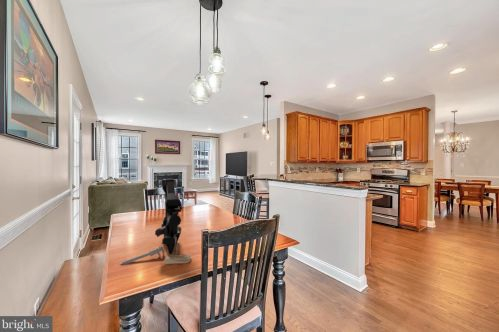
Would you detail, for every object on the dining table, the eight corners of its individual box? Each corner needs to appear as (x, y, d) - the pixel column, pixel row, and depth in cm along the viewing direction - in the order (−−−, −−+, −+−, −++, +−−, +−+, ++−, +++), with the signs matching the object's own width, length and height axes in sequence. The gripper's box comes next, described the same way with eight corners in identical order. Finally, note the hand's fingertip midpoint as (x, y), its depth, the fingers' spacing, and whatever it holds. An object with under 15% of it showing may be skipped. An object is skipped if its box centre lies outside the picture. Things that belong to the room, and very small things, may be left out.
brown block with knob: (169, 254, 114) (169, 243, 114) (177, 253, 115) (177, 242, 115) (167, 258, 110) (167, 246, 109) (176, 257, 110) (176, 245, 110)
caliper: (164, 255, 113) (164, 244, 112) (164, 256, 112) (164, 244, 112) (119, 264, 102) (119, 252, 102) (119, 265, 102) (119, 253, 101)
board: (166, 259, 107) (166, 255, 107) (190, 258, 109) (190, 254, 109) (164, 264, 103) (164, 259, 103) (189, 262, 105) (189, 258, 105)
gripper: (161, 217, 120) (161, 244, 120) (151, 227, 101) (151, 259, 102) (181, 216, 121) (181, 243, 122) (174, 226, 103) (174, 257, 103)
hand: (172, 250), depth 112 cm, fingers open, 9 cm apart
